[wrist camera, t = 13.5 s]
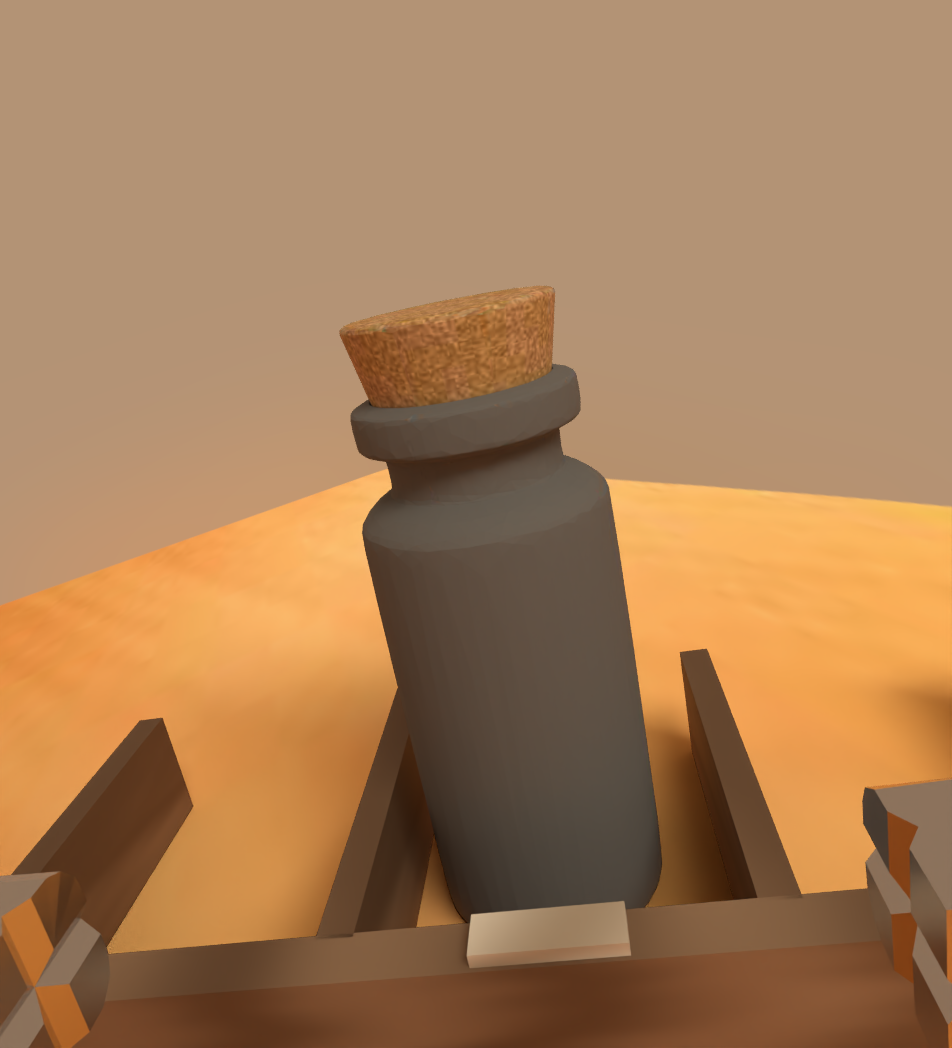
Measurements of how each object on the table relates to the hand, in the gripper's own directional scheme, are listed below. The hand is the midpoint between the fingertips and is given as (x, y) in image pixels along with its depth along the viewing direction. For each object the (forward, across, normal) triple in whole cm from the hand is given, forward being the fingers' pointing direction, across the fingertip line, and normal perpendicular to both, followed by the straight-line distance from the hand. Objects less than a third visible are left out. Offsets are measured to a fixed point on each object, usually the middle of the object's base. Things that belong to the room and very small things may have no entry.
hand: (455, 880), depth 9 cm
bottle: (+12, 0, +10) cm, 15 cm away
